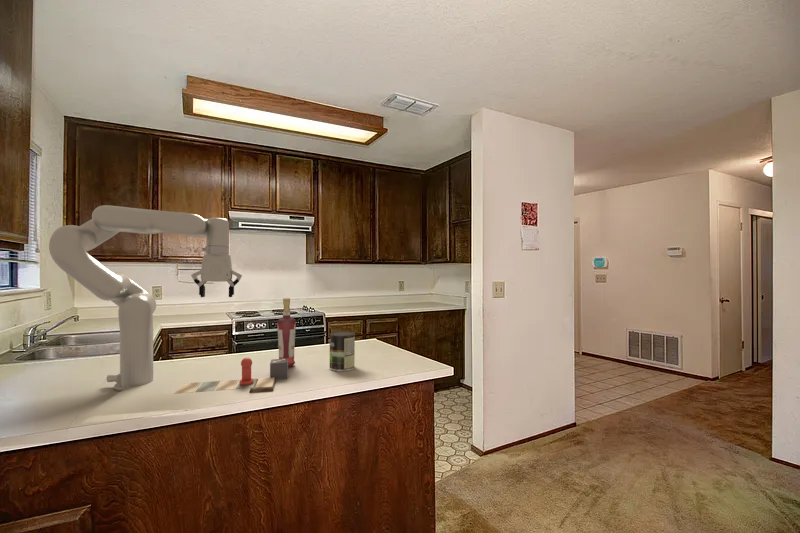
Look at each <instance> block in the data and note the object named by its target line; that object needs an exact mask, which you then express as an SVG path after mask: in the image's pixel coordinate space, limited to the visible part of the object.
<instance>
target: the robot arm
mask: <svg viewBox="0 0 800 533" xmlns="http://www.w3.org/2000/svg"><path fill="white" fill-rule="evenodd" d="M229 230H230V222H229V220H228V219H227V218H222V217H209V218H203V217H202V216H200V215H199V214H194V213H187V212H181V211H179V212H178V211H166V210H159V209H147V208H146V209H145V208H137V207H129V206H121V205H120V206H119V205H109V204H104V205H99V206H97V207H96V208H94V210H93V211H92V214H91V219H90V220H88V221H85V222H84V223H83V224H81V225H74V224H69V225H62V226H60V227H58V228H56V229H55V230H54V231H53V232H52V234H51V236H50V237H49V238H50V239H49V243H48V250H49V254H50V256H51V259H52V260H53V262H54V263H55V265H57V266H58V267H59V269H61V270H62V271H63V272H65V273H66V274H67V275H68V276H70V277H71V278H72V279H74V280H75V281H76V282H78V283H79V284H80V285H81V286H82V287H84V288H85V289H86V290H88V291H89V292H91V293H92V295H94V296H96V297H97V298H98V299H100V300H103V301H108V302H109V301H111V302H112V303H114V304H115V305H116V306H117V307H118V312H117V313H118V325H119V327H118V328H119V373H118V374H108V375H107V376H106V382H107V383H112V382H115V384H114V385H113V386H114V390H115V391H119V392H122V391H124V390H125V389H126V388H128V387H137V386H144V385H147V384H149V383H152V382H153V381H154V320H153V319H154V318H153V316H154V315H153V314H154V312H155V311H156V308H157V301H156V299H155V298H154V296H153V295H152V294H151V293H149V292H148V291H146V290H145V289H144V288H142V287H141V286H140V285H139V284H138V283H136V282H135V281H133V280H132V279H131V278H130V277H129V276H127V275H125V274H123V273H121V272H114V271H112V270H110V269H109V268H107V267H106V266H105V265H103V264H102V263H101V262H100V261H99V260H98V259H97V258H94V257H93V256H92V255H90V254H89V251H92V250H94V249H95V248H97V247H98V246H100V245H101V244H103V243H105V242H106V241H108V240H110V239H111V238H113V237H114V236H116V235H117V234H119V233H133V234H144V235H145V234H146V235H155V234H177V235H187V236H189V237H191V238H204V237H206V239H205V240H206V245H205V247H202V248H201V251H202V252H205V254H203V255H202V261H201V270H198V271H195V272H194V273H192V274H191V277H192V280H193V283H195V284H196V285H197V286H198V295H199V296H200V298H203V297H206V286H205V284H206V283H207V282H213V283H214V282H222V283H223V282H226V283H228V285H229V286H228V298H232V297H233V296H235V286H236V285H237V284H238V283H239V282H240V280H241V279H242V277H243V275H242V274H241V273H239V272H237V271H235V270H233V264H232V258H231V255H230V254H229V246H230V245H229V242H230V241H229V240H230V239H229V238H230V236H229V235H230V231H229ZM198 276H200V280H199V278H198ZM233 276H235V277H236V279H235V280H233Z"/></svg>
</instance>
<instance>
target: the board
mask: <svg viewBox="0 0 800 533" xmlns="http://www.w3.org/2000/svg"><path fill="white" fill-rule="evenodd" d="M252 379H253V384H251V385H246V386H242V385H240V380H239V379H229V380H227V379H226V380H222V381H221V380H215V381H214V380H212V381H203V382H202V381H199V382H197V381H196V382H185V383H183V384H182V385H181V386H180V387H179V388H178V389H176V391H175V392H174V393H173V394H174V395H175V394H190V393H194V392H195V393H202V392H214V391H229V390H230V391H231V390H234V389H235V390H242V389H243V390H245V389H249V392H248V393H260V392H262V393H264V392H273V391H274V388H275V384H276V378H275V377H271V378H270V377H260V378H259V377H258V378H252Z"/></svg>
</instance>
